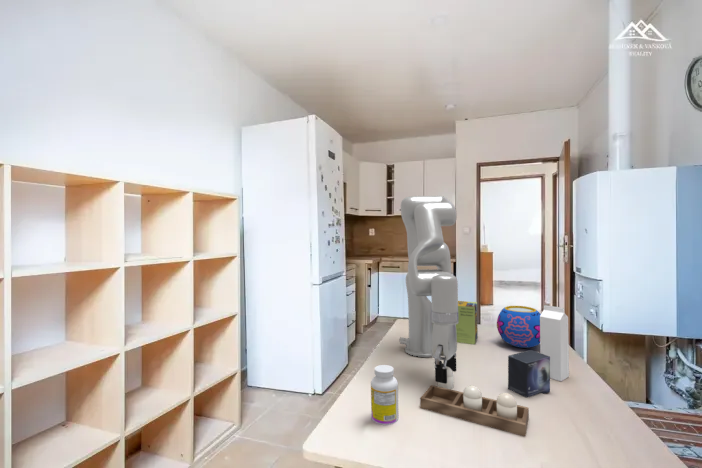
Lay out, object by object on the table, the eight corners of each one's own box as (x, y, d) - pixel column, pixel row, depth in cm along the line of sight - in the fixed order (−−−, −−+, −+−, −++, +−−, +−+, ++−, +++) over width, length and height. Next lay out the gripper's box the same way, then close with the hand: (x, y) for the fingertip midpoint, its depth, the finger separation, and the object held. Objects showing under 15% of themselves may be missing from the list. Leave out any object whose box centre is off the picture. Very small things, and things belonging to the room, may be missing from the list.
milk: (561, 382, 102) (560, 309, 102) (540, 375, 107) (539, 306, 107) (569, 376, 106) (568, 306, 106) (548, 370, 111) (547, 303, 111)
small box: (527, 401, 91) (527, 362, 91) (506, 391, 97) (506, 355, 97) (551, 392, 96) (551, 355, 96) (530, 383, 101) (530, 349, 101)
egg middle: (461, 414, 83) (461, 387, 84) (465, 406, 87) (465, 380, 87) (480, 419, 81) (479, 391, 81) (483, 410, 85) (483, 384, 85)
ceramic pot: (547, 343, 138) (546, 306, 138) (544, 356, 123) (544, 315, 123) (500, 336, 147) (500, 302, 147) (493, 348, 132) (493, 310, 132)
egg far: (495, 423, 79) (495, 395, 79) (498, 414, 83) (498, 387, 83) (516, 428, 77) (515, 399, 77) (518, 419, 81) (517, 392, 81)
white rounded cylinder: (436, 390, 98) (435, 367, 98) (440, 384, 102) (440, 362, 102) (451, 393, 96) (450, 370, 96) (455, 387, 100) (455, 365, 100)
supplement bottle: (378, 410, 87) (377, 361, 87) (402, 417, 84) (401, 366, 84) (366, 423, 82) (365, 370, 81) (391, 431, 78) (391, 376, 78)
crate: (420, 410, 87) (420, 397, 87) (431, 396, 94) (431, 384, 94) (525, 439, 74) (525, 425, 74) (528, 421, 81) (528, 407, 81)
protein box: (475, 344, 137) (475, 306, 137) (437, 340, 144) (437, 303, 144) (478, 337, 147) (477, 301, 147) (442, 333, 153) (441, 299, 153)
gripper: (441, 310, 108) (442, 364, 107) (422, 322, 93) (423, 384, 93) (465, 313, 104) (466, 368, 104) (449, 325, 89) (450, 390, 89)
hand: (446, 376), depth 98 cm, fingers open, 9 cm apart
